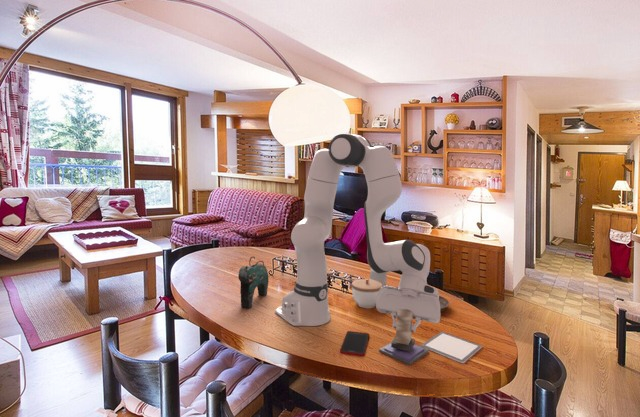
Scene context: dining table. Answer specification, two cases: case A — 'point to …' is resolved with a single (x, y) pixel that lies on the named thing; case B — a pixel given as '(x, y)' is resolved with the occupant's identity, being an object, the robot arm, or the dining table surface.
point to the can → (378, 277)
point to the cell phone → (355, 343)
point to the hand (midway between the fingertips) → (403, 329)
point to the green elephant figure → (252, 282)
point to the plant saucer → (443, 303)
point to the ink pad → (404, 353)
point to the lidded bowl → (366, 292)
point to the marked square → (452, 347)
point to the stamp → (403, 331)
